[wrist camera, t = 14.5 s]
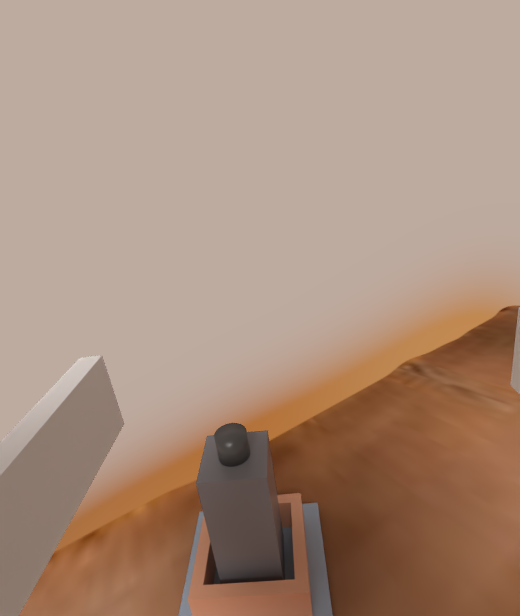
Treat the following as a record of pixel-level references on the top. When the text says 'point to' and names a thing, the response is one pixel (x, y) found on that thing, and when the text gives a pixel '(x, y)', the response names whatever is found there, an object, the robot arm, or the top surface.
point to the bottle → (241, 505)
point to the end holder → (266, 594)
